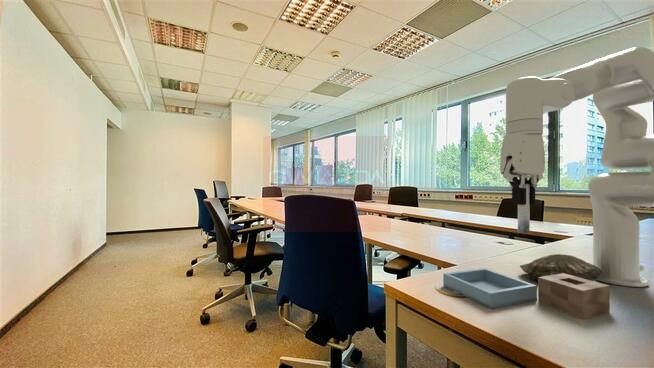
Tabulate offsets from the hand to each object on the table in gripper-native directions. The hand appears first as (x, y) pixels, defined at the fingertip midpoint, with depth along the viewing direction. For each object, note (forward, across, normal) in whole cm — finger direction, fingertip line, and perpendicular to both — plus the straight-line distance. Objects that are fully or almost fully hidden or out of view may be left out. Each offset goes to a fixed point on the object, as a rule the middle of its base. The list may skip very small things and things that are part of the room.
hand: (523, 203), depth 69 cm
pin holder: (+24, -6, +7) cm, 25 cm away
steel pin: (+7, 0, 0) cm, 7 cm away
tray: (+24, +4, -6) cm, 25 cm away
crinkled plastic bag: (+24, -24, -6) cm, 34 cm away
